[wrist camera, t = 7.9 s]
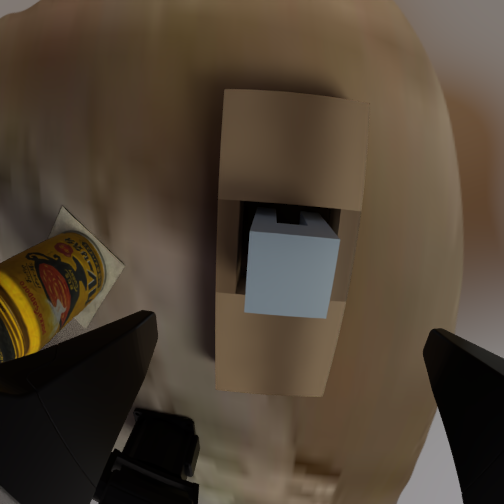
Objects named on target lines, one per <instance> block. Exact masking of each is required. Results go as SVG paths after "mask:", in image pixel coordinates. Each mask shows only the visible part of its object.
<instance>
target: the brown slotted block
mask: <svg viewBox="0 0 504 504" xmlns="http://www.w3.org/2000/svg"><path fill="white" fill-rule="evenodd" d="M369 116H370V103H365V102H360V101H354V100H348V99H342V98H336V97H329V96H321V95H313V94H304V93H294V92H283V91H269V90H248V89H224V102H223V117H222V132H221V149H220V168H219V190H218V215H217V247H216V300H215V372H216V390H223V391H232V392H242V393H253V394H265V395H282V396H309V397H322V396H323V393H324V390H325V386H326V382H327V379H328V375H329V372H330V368H331V364H332V360H333V356H334V353H335V349H336V344H337V340H338V336H339V332H340V328H341V323H342V319H343V314H344V310H345V305H346V300H347V295H348V290H349V285H350V280H351V274H352V269H353V263H354V257H355V251H356V245H357V238H358V231H359V224H360V217H361V209H362V201H363V193H364V184H365V174H366V163H367V150H368V135H369ZM244 201H255V202H269V203H281V204H293V205H305V206H315V207H326V208H330V215H329V224H328V225H329V226H330V227H331V229H332V230H333V231H334V232H335V234H336V235H337V236H338V237H339V239H340V244H339V250H338V256H337V263H336V269H335V274H334V280H333V286H332V291H331V296H330V302H329V307H328V312H327V317H326V319H324V318H308V317H293V316H280V315H268V314H256V313H246V312H244V308H245V293H246V278H247V276H242V275H240V274H241V254H242V235H243V217H244Z"/></svg>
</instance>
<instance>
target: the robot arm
mask: <svg viewBox="0 0 504 504" xmlns="http://www.w3.org/2000/svg"><path fill="white" fill-rule="evenodd" d="M157 339H158V331H157V321H156V315H155V313H154V312H152V311H146V310H141V311H139V312H136V313H134V314H132V315H129V316H127V317H124V318H122V319H119V320H117V321H114V322H112V323H109V324H107V325H104V326H102V327H99V328H97V329H94V330H92V331H89V332H87V333H84V334H82V335H79V336H77V337H74V338H71V339H69V340H66V341H64V342H61V343H59V344H58V345H57V344H56V345H54V346H51V347H48V348H46V349H43V350H40V351H38V352H35V353H32V354H29V355H26V356H23V357H19V358H16V359H13V360H9V361H6V362H2V363H0V504H90V502H91V500H92V499H93V500H95V501H97V502H99V504H198V493H199V484H197V483H194V482H193V483H192V482H189V481H186V480H187V476H189V477H192V476H193V475H194V471H195V467H196V463H197V459H198V455H199V451H200V445H199V437H198V436H197V435H196V434H195V425H194V422H193V421H192V420H190V419H184V418H179V417H174V416H169V415H164V414H159V413H154V412H150V411H146V410H141V409H135V410H134V412H133V414H134V417H135V421H136V423H135V425H134V427H133V430H132V432H131V434H130V436H129V438H128V440H127V442H126V444H125V447H124V449H123V451H122V452H120V451H119V450H117V449H116V448H115V449H114V451H113V452H111V451H112V449H113V447H114V445H115V442H116V440H117V438H118V435H119V433H120V431H121V429H122V427H123V424H124V422H125V420H126V418H127V415H128V413H129V411H130V409H131V407H132V405H133V402H134V400H135V398H136V396H137V394H138V392H139V390H140V387H141V385H142V383H143V381H144V379H145V376H146V373H147V370H148V367H149V364H150V361H151V358H152V355H153V352H154V349H155V346H156V343H157ZM423 357H424V361H425V365H426V368H427V372H428V376H429V380H430V384H431V388H432V391H433V394H434V397H435V400H436V403H437V406H438V409H439V412H440V415H441V418H442V421H443V424H444V428H445V431H446V434H447V438H448V441H449V444H450V448H451V452H452V455H453V459H454V463H455V467H456V471H457V475H458V479H459V483H460V488H461V492H462V499H463V503H464V504H504V358H501V357H500V356H498V355H495V354H493V353H491V352H489V351H487V350H485V349H483V348H481V347H479V346H477V345H475V344H473V343H471V342H469V341H467V340H465V339H463V338H461V337H459V336H457V335H455V334H453V333H451V332H449V331H447V330H444V329H442V328H438V329H432V330H431V331H430V333H429V336H428V338H427V341H426V344H425V346H424V349H423ZM112 471H113V472H112Z"/></svg>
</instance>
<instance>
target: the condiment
mask: <svg viewBox="0 0 504 504" xmlns="http://www.w3.org/2000/svg"><path fill="white" fill-rule="evenodd" d="M124 267H125V265H124V264H123V263H122V262H120V261H119V260H118V259H117V258H116V257H115V256H114V255H113V254H112V253H111V252H110V251H109V250H108V249H107V248H106V247H105V246H104V245H103V244H102V243H100V242H99V241H98V240H97V239H96V238H95V237H94V236H93V235H92V234H91V233H90V232H89V231H88V230H87V229H86V228H85V227H84V226H83V225H81V224H80V223H79V222H78V221H77V220H76V219H74V218H73V216H72V215H71V214H69V213H68V212H67V210H66V209H65V208H64V207H63V206H62V208H61V210H60V213H59V215H58V217H57V219H56V222H55V224H54V226H53V228H52V231H51V233H50V235H49V237H48V239H47V240H45V241H43V242H41V243H39V244H37V245H35V246H33V247H31V248H29V249H27V250H25V251H23V252H21V253H19V254H17V255H15V256H13V257H11V258H9V259H7V260H6V261H3V262H2V263H0V363H2V362H6V361H9V360H13V359H16V358H19V357H23V356H26V355H29V354H32V353H35V352H38V351H39V350H40V349H42V348H43V347H44V346H45V344H46V343H48V342H50V340H51V339H52V338H53V337H54V336H55V334H56V333H58V332H59V331H60V330H61V329H62V328H63V327H64V326H66V324H67V323H69V321H70V320H72V318H73V317H74V318H75V319H76V320H77V322H79V323H80V324H81V325H82V326H83V327H84V328H85V329H86V328H87V326H88V325H89V323H90V321H91V320H92V318H93V316H94V314H95V313H96V311H97V309H98V308H99V306H100V305H101V303H102V301H103V300H104V298H105V297H106V295H107V294H108V292H109V290H110V289H111V287H112V286H113V284H114V283H115V281H116V279H117V278H118V276H119V275H120V273H121V272H122V270H123V269H124Z"/></svg>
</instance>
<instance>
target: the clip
mask: <svg viewBox="0 0 504 504" xmlns="http://www.w3.org/2000/svg"><path fill="white" fill-rule="evenodd" d="M339 244H340V239H339V237H338V236H337V235H336V234H335V232H334V231H333V230H332V229H331V227H330V226H329V225H328V224H327V222H326V221H325V220H324V219H323V218H322V216H321V215H320V214H319V213H316V212H306V211H300V220H299V225H294V224H284V223H277V218H276V209H274V208H262V207H257V210H256V213H255V216H254V219H253V223H252V226H251V229H250V235H249V249H248V264H247V278H246V293H245V308H244V312H246V313H256V314H268V315H280V316H293V317H308V318H324V319H326V317H327V312H328V307H329V302H330V296H331V291H332V286H333V280H334V274H335V269H336V263H337V256H338V250H339Z"/></svg>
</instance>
